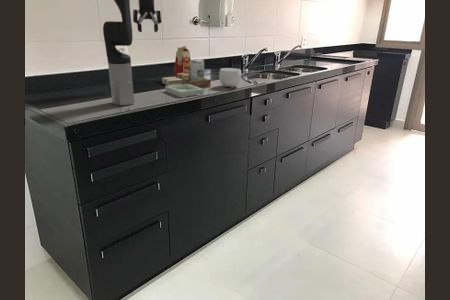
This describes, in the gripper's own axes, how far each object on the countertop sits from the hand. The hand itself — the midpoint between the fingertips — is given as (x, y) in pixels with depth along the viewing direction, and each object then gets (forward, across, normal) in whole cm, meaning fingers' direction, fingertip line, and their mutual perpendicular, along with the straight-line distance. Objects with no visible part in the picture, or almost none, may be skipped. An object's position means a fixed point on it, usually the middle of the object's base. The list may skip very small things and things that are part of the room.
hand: (148, 32), depth 163 cm
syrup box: (+28, +22, -12) cm, 38 cm away
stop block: (+28, +20, 0) cm, 35 cm away
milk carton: (+28, +26, +10) cm, 40 cm away
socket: (+28, +22, -12) cm, 37 cm away
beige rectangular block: (+28, +13, 0) cm, 31 cm away
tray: (+28, +7, -24) cm, 37 cm away
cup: (+28, +37, -23) cm, 52 cm away
